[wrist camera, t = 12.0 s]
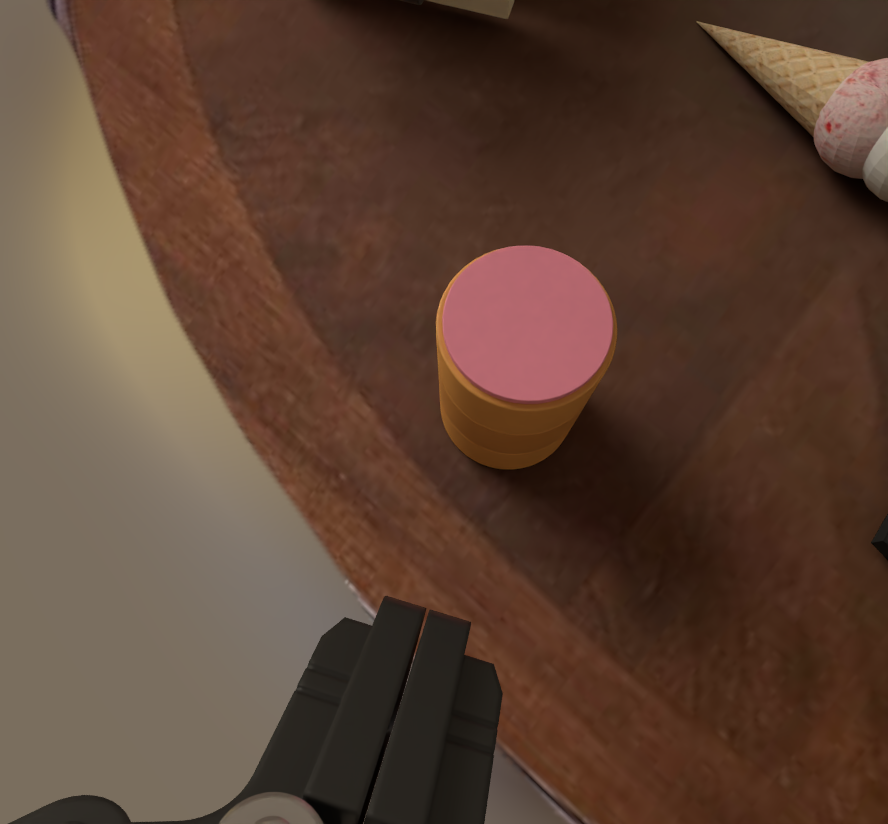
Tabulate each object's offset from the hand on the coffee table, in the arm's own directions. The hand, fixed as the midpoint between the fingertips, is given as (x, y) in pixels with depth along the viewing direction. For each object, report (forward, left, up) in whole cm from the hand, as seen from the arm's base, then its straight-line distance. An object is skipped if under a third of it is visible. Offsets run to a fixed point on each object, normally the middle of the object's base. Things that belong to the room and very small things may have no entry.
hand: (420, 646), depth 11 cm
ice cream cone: (+10, +27, -14) cm, 32 cm away
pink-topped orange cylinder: (0, +9, -14) cm, 17 cm away
